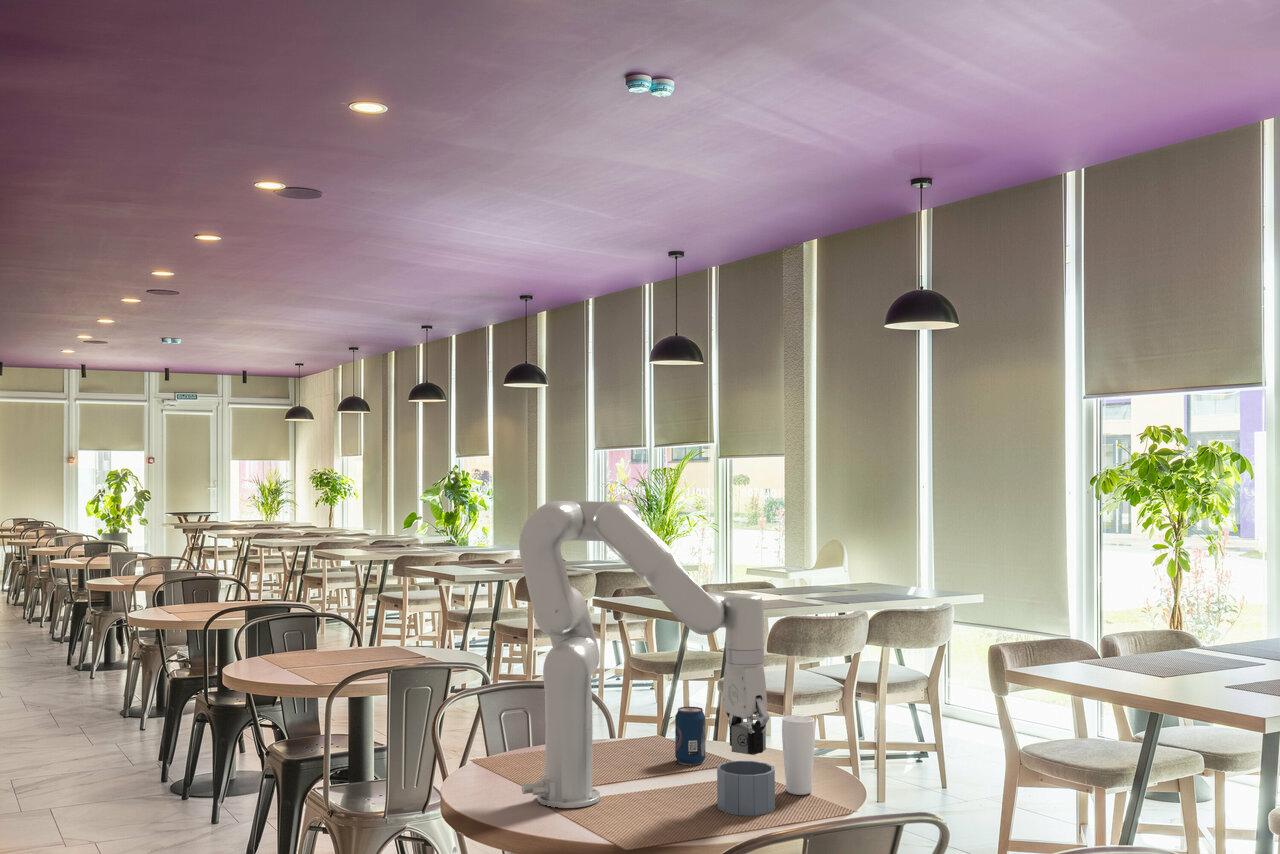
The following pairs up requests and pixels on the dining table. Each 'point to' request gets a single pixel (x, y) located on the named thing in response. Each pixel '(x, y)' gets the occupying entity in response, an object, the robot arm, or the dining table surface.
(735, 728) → the dice cube
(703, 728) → the soda can
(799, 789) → the drinking glass
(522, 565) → the robot arm
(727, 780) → the cup
